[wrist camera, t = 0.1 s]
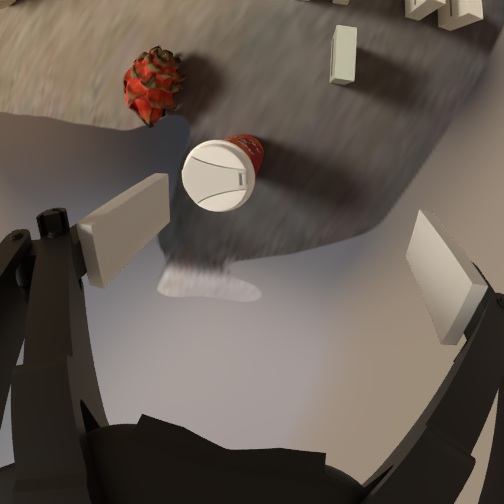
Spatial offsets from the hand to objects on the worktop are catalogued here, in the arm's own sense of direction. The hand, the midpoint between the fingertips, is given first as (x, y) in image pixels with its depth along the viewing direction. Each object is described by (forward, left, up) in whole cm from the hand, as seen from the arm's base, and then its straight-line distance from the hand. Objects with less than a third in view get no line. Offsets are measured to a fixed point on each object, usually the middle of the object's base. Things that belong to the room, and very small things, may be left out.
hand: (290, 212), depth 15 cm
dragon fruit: (-7, -20, -28) cm, 35 cm away
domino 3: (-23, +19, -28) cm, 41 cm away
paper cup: (+3, -8, -28) cm, 29 cm away
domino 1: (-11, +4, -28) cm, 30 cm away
